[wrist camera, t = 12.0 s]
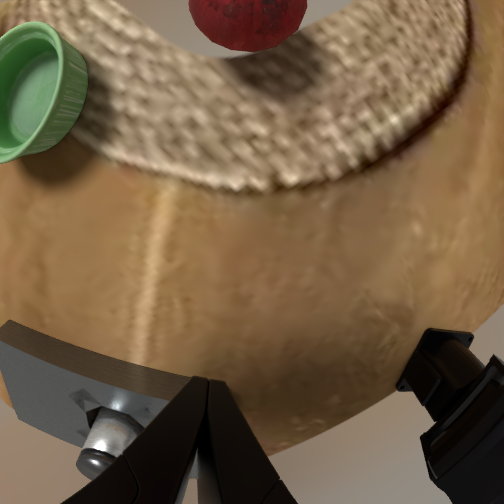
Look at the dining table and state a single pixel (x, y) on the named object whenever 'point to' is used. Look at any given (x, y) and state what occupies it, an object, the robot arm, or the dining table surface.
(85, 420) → the jig
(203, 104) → the dining table surface
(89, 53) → the dining table surface
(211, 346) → the dining table surface
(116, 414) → the metal cylinder peg
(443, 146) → the dining table surface
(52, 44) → the ramekin
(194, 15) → the onion
